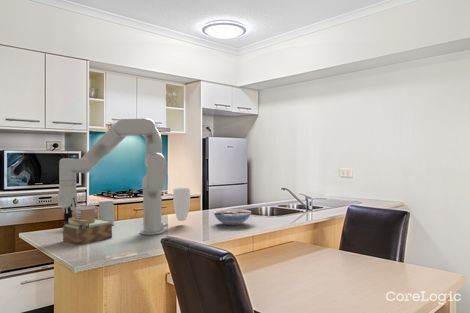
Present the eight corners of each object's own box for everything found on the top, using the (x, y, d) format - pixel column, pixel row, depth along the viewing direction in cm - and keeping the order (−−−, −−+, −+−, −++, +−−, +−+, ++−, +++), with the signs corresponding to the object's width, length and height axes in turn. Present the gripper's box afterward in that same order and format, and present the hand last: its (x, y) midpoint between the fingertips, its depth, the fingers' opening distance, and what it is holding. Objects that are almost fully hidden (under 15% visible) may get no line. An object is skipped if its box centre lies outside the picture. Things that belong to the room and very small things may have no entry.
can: (99, 225, 212) (99, 204, 212) (95, 228, 201) (95, 207, 201) (79, 225, 210) (79, 205, 210) (73, 229, 199) (73, 208, 199)
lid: (96, 221, 185) (96, 205, 185) (109, 223, 178) (109, 207, 178) (65, 226, 172) (65, 209, 172) (78, 229, 165) (78, 212, 165)
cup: (169, 226, 208) (169, 189, 208) (178, 222, 218) (178, 187, 218) (185, 227, 204) (184, 189, 204) (193, 224, 214) (193, 188, 214)
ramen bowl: (245, 219, 228) (245, 207, 228) (259, 226, 206) (259, 212, 206) (207, 222, 220) (207, 209, 220) (217, 229, 198) (217, 214, 198)
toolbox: (96, 234, 187) (95, 217, 187) (112, 238, 178) (112, 219, 178) (62, 241, 172) (62, 222, 172) (78, 245, 164) (78, 225, 164)
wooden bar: (71, 222, 174) (71, 217, 174) (87, 225, 166) (87, 220, 166) (68, 223, 173) (68, 218, 173) (84, 226, 165) (84, 221, 165)
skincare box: (114, 223, 216) (113, 199, 216) (114, 225, 210) (114, 200, 210) (99, 224, 213) (99, 199, 213) (98, 226, 207) (98, 201, 207)
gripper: (52, 183, 176) (52, 220, 176) (68, 184, 167) (68, 224, 167) (67, 182, 182) (67, 218, 182) (83, 183, 173) (83, 221, 173)
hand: (68, 221), depth 175 cm, fingers closed
